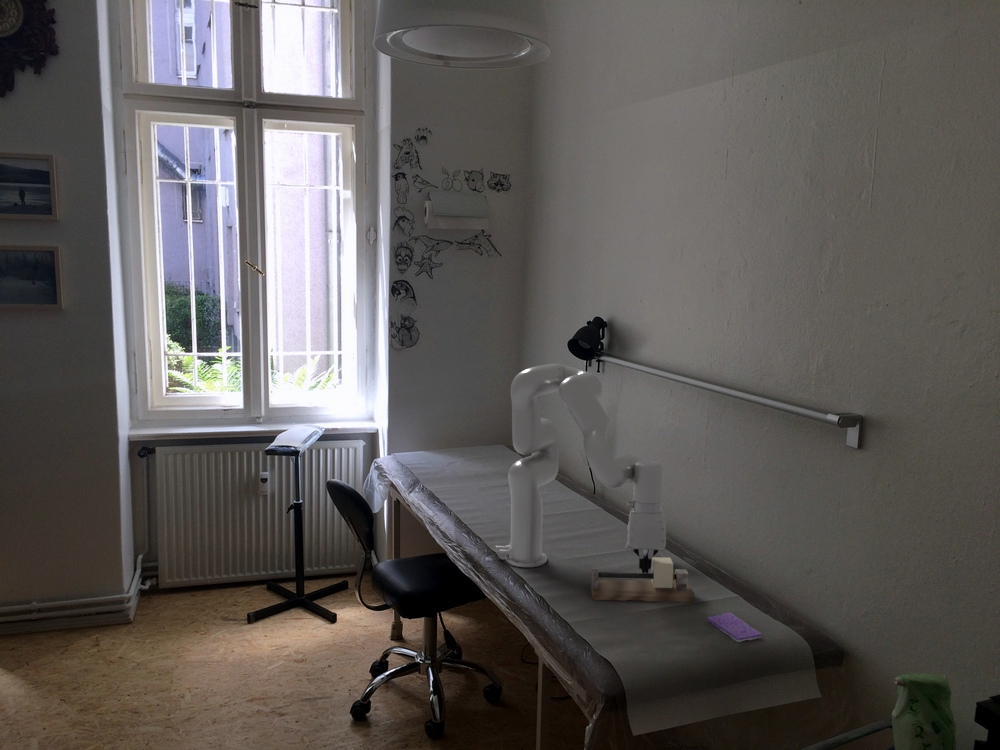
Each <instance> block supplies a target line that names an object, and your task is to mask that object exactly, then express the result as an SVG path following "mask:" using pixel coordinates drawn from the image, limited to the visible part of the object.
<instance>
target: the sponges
mask: <svg viewBox="0 0 1000 750" xmlns="http://www.w3.org/2000/svg"><path fill="white" fill-rule="evenodd" d="M707 620H708V621H709V622H708V621H707V622H708V623H710V622H711V623H713V624H714V625H715V626H717V627H718V628H720V629H722V630H723V631H725V632H726V633H728V634H729V635H731V636H732V637H734V638H735V639H736V640H743V639H749V638H754V637H762V632H760V631H758V630H757V629H756V628H754V627H752V626H750V625H749V624H748V623H747V622H744V621H743V620H742V619H740V618H739V617H738V616H736V615H734V614H733V613H732V612H726V613H722V614H718V615H712V616H707ZM711 623H710V624H711ZM714 625H713V626H714ZM715 626H714V627H715ZM718 628H717V629H718Z"/></svg>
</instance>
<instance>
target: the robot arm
mask: <svg viewBox="0 0 1000 750" xmlns="http://www.w3.org/2000/svg"><path fill="white" fill-rule="evenodd" d="M510 385H511V386H510V399H511V417H512V418H511V428H512V429H511V430H512V431H511V432H512V446H513V448H514V450H515V451H516V452H517V453H518V454H521V455H529V456H525V457H523V458H521V459H518V460H516V461H515V462H514V463H512V465H510V468H509V470H508V473H507V478H508V485H509V492H510V542H509V544H506V545H495V552H496V553H499V555H505V556H504V557H505V562H506V563H508V564H509V565H511V566H514V567H518V568H535V567H540V566H543V565H545V563H547V562H548V560H547V559H548V556H547V555H546V553H545V552H543V519H544V518H543V512H544V511H543V499H542V495H541V492H540V487H542V486H545V485H546V484H549V483H552V482H553V481H554V480H555V478H556V477H558V476H557V475H558V472H559V465H560V464H559V463H560V462H559V459H560V455H559V434H558V430H557V428H556V425H555V424H554V422H552V421H551V420H550V419H548V418H544V417H541V416H542V411H541V410H542V408H541V404H540V402H539V400H538V398H537V397H540V396H545V395H549V394H552V393H553V394H554V393H559V396H560V398H561V400H562V402H563V403H564V405H565V407H566V408H567V410H568V411H569V414H570V415H571V416H572V418H573V420H574V421H575V423H576V425H577V426H578V428H579V430H580V431H581V433H582V436H583V449H584V454H585V458H586V460H587V462H588V464H589V466H590V468H591V469H592V472H593V473H594V474H595V476H596V478H597V479H598V481H599V482H600V483H602V485H604V486H605V487H607V488H608V489H618V488H621V487H623V486H624V485H626V484H631V483H633V498H632V500H631V501H627V507H629V508H631V509H630V511H629V515H628V520H627V521H628V522H627V529H626V544H625V550H626V551H627V552H632V553H635V555H636V556H638V558H639V559H638V568H639V570H641V573H649V570H652V561H651V559H652V558H653V556H654V555H655V554H656V553H658V552H662V553H663V552H666V546H667V545H666V544H667V541H666V540H667V529H666V528H667V526H666V518H665V517H666V516H665V511H664V510H663V509H662V510H663V511H662V510H661V508H662V501H663V500H662V497H663V496H662V495H663V476H664V475H663V474H664V472H663V468H664V467H663V464H662V463H660V462H659V461H656V460H652V459H643V458H642V457H641V458H640V457H638V456H635V455H632V454H622V455H620V456H617V457H615V458H614V457H613V455H612V453H611V451H610V449H609V448H608V444H607V441H606V440H607V439H606V433H607V432H606V431H607V429H608V425H609V422H610V418H609V415H608V414H607V412H606V411H605V409H604V408H603V406H602V404H601V402H600V401H599V399H598V398H599V397H601V394H602V391H603V387H602V383H601V380H600V379H599V377H597V375H595V374H594V373H591V372H590V371H586V370H582V369H579V368H575V367H572V366H569V365H566V364H562V363H549V364H548V363H547V364H543V365H537V366H532V367H528V368H526V369H524V370H522V371H520V372H518V373H517V374H516V375H515V377H514V378H513V380H512V382H511V384H510ZM530 454H531V455H530ZM643 549H647V554H646V555H645V556H644V554H643Z"/></svg>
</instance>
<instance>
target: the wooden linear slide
mask: <svg viewBox="0 0 1000 750" xmlns="http://www.w3.org/2000/svg"><path fill="white" fill-rule="evenodd" d="M598 570H599V569H595V568H594V569H593V568H591V579H589V588H590V589H589V590H590V594H591V599H592V600H595V601H626V600H644V601H643V602H665V601H680V602H679V603H694V602H695V601H694V600H695V597H694V594H693V592H692V590H691V588H690V586H689V572H688V570H687V569H684V568H683V569H680V568H678V569H677V568H676V569H674V571H675V572H673V582H672V588H654V587H653V584H652V582H651V579H653V575H654V573H650V572H648V573H646V572H645V573H642V572H614V571H613V572H610V571H609V572H608V571H607V572H606V571H598ZM599 578H608V579H599ZM621 579H622V580H621ZM626 579H630V580H626ZM631 579H632V580H631ZM633 579H643V580H633ZM644 579H645V580H644ZM646 579H649V580H646ZM674 580H675V581H674Z"/></svg>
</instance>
